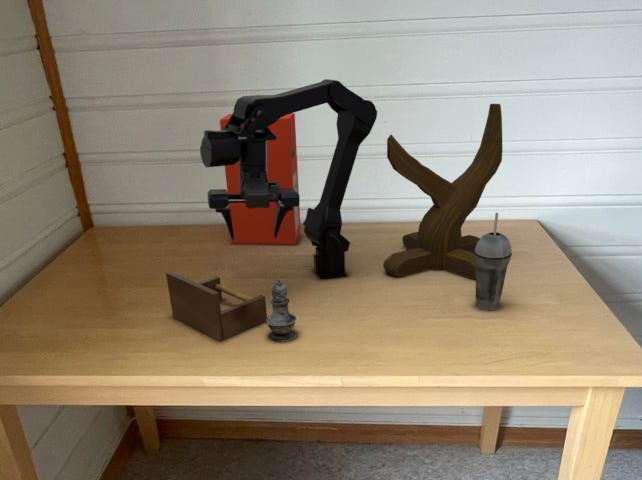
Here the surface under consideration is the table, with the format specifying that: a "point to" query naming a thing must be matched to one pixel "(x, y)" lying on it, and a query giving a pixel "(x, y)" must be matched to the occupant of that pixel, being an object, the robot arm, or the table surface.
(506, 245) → the beverage cup
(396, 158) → the wooden stand
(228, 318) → the spice rack
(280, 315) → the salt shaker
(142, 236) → the table surface
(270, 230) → the file binder
